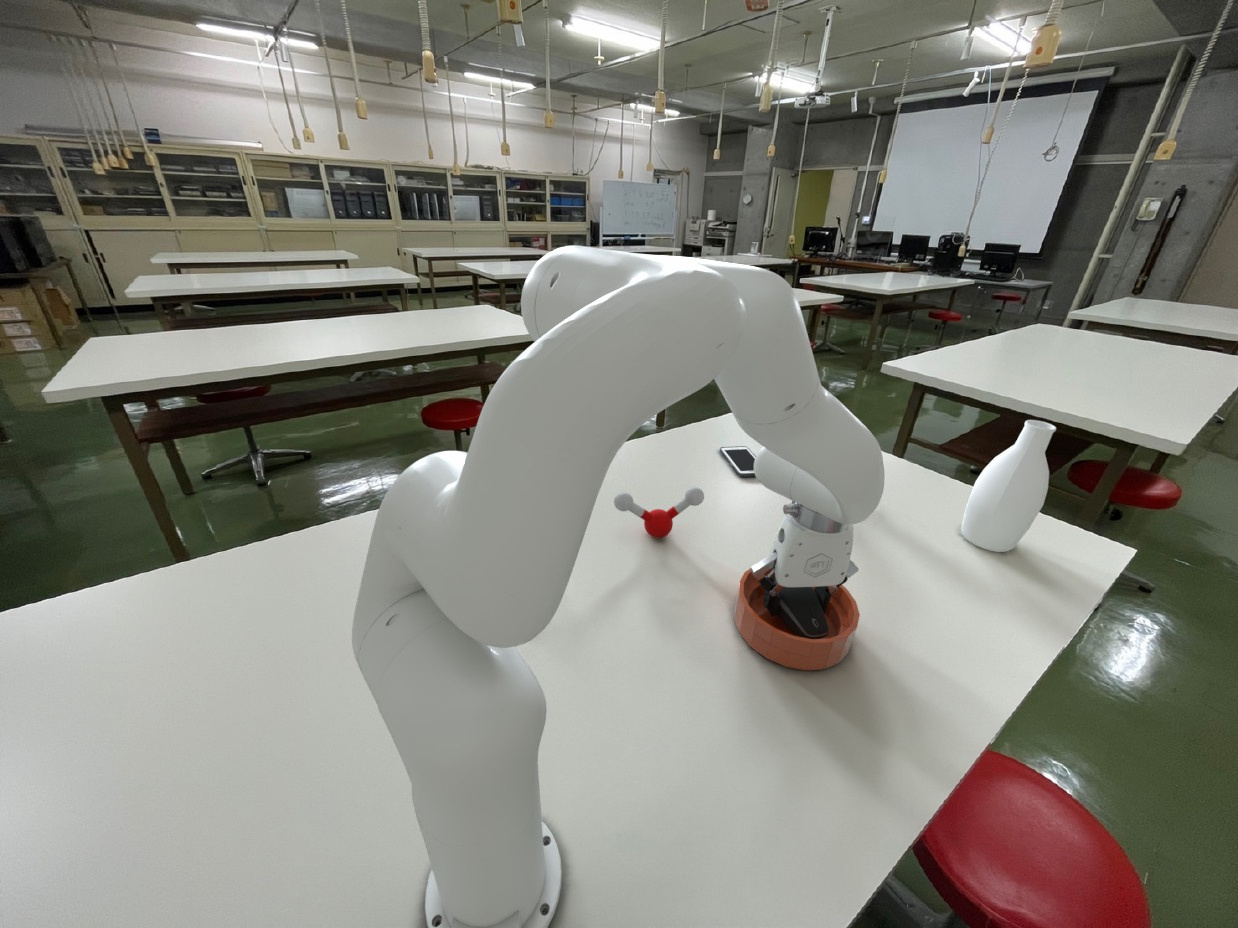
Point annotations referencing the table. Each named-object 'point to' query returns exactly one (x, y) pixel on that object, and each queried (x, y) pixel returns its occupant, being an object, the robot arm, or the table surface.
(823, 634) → the computer mouse
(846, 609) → the bowl
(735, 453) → the cell phone
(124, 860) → the table surface
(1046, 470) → the bottle
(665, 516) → the molecular model
